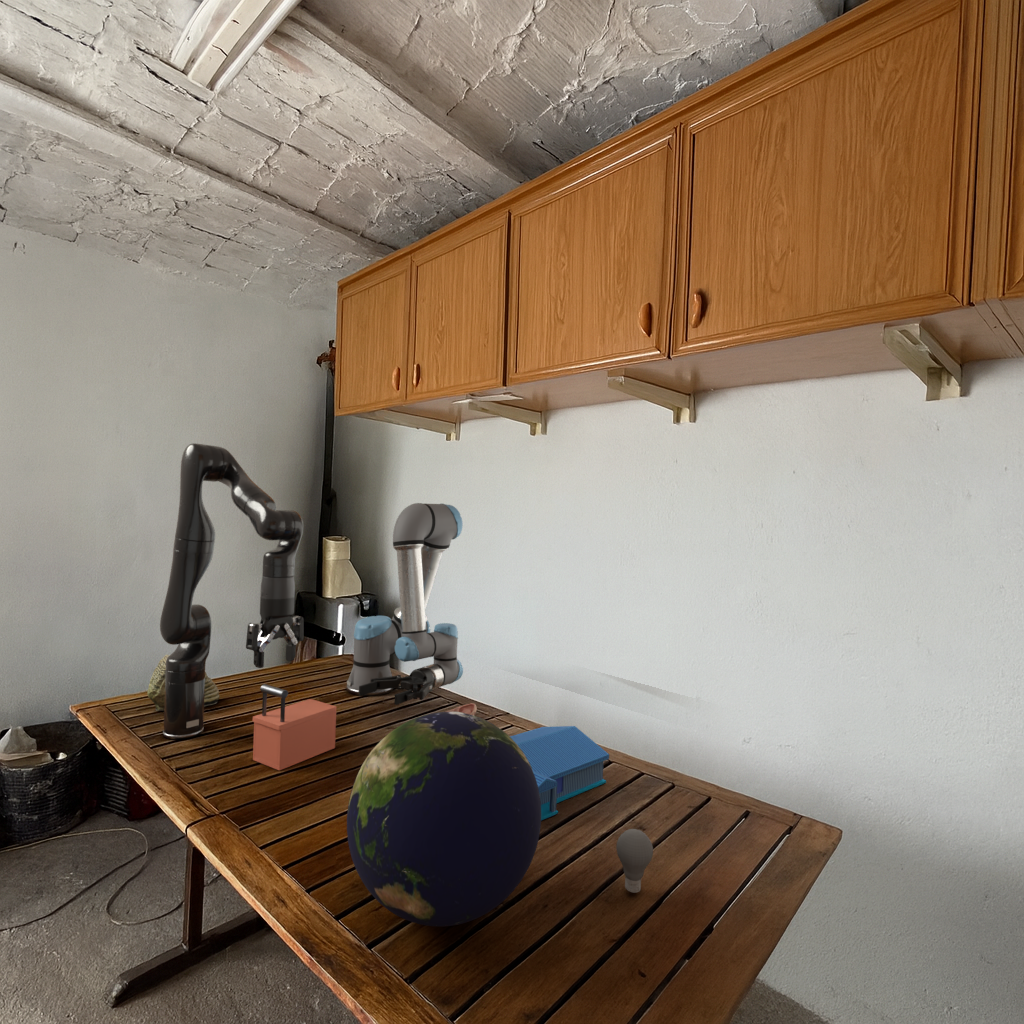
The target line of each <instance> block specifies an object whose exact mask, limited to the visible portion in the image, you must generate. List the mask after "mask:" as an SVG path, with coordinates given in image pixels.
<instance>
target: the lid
mask: <svg viewBox="0 0 1024 1024" xmlns="http://www.w3.org/2000/svg"><path fill="white" fill-rule="evenodd" d="M259 689H260V690H259V691H260V692H261V693H262V701H261V702H262V703H261V706H262V707H261V708H262V709H261V713H260V714H257V715H254V716H252V722H253V723H254V722H256V723H259V724H262V725H265V726H268V727H270V728H273V729H276V730H282V729H285V728H288V727H291V726H294V725H297V724H300V723H303V722H306V721H308V720H311V719H314V718H317V717H320V716H323V715H326V714H329V713H332V712H335V711H336V712H337V706H336V705H332V704H329V703H326V702H323V701H319V700H315V699H313V698H308V699H305V700H302V701H299V702H296V703H292V704H289V705H286V698H287V697H288V695H289V691H288V690H287V689H283V688H279V687H276V686H274V685H270V684H266V683H263V684H262V685H261V686H260V688H259ZM268 695H270V696H273V697H277V698H280V708H276V709H272V710H270V711H267V706H268V705H267V703H268Z"/></svg>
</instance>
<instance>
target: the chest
mask: <svg viewBox="0 0 1024 1024" xmlns="http://www.w3.org/2000/svg"><path fill="white" fill-rule="evenodd" d="M336 727H337V710H336V711H335V712H332V713H329V714H326V715H323V716H320V717H317V718H314V719H311V720H308V721H306V722H303V723H300V724H297V725H294V726H291V727H288V728H285V729H282V730H276V729H273V728H270V727H268V726H265V725H262V724H259V723H256V722H253V743H252V744H253V748H252V761H255V762H257V763H259V764H262V765H264V766H266V767H270V768H271V769H273V770H277V771H282V770H284V769H287V768H289V767H291V766H294V765H297V764H300V763H301V762H304V761H306V760H309V759H311V758H313V757H316V756H318V755H319V756H320V755H321V754H325V752H329V751H331V750H333V749H335V748H336V732H337V729H336Z"/></svg>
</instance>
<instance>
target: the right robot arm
mask: <svg viewBox="0 0 1024 1024" xmlns="http://www.w3.org/2000/svg"><path fill="white" fill-rule="evenodd" d="M463 526H464V525H463V519H462V516H461V513H460V511H459V510H458V508H457V507H455V506H453V505H451V504H447V503H422V502H416V503H411V504H410V505H408V506H405V508H403V510H402V511H401V512H400V513H399V515H398V516H397V518H396V521H395V523H394V526H393V532H392V548H393V549H394V550H395V551H396V561H397V563H396V564H397V575H398V577H397V578H398V591H399V606H398V607H396V608H395V609H394V611H393V615H392V618H391V617H389V616H386V615H376V616H375V615H371V616H366V617H364V618H361V619H359V620H357V622H356V623H355V625H354V632H353V639H354V640H353V662H352V663H353V665H352V668H351V672H350V674H349V677H348V680H346V691H347V693H350V694H352V695H356V696H359V697H362V696H367V697H369V696H371V697H373V696H381V695H382V696H383V695H386V694H389V693H391V692H393V691H394V689H396V690H398V691H400V690H402V691H401V692H398V693H395V694H394V705H396V706H397V705H401V704H404V703H406V702H408V701H411V700H419V701H423V700H424V699H425V698H426V697H427V696H428V694H429V693H431V692H432V691H433V690H436V689H439V688H441V687H444V686H447V685H452V684H454V683H455V682H457V681H459V680H460V679H461V678H462V677H463V673H464V667H463V665H462V662H461V660H459V659H458V641H459V640H458V639H459V631H458V626H457V625H456V624H454V623H448V622H442V623H441V622H440V623H437V624H435V625H434V629H433V631H432V632H431V629H430V628H431V625H430V622H429V620H428V616H427V614H426V611H427V606H428V604H429V601H430V596H431V594H432V590H433V586H434V583H435V581H436V577H437V573H438V570H439V566H440V564H441V560H442V557H443V554H444V552H445V551H447V550H449V548H450V546H451V543H452V540H456V539H458V538H459V536H461V534H462V531H463ZM390 655H396V657H397V659H398V660H399V661H401V662H404V663H406V662H415V661H418V660H423V659H427V658H432V657H433V663H431V664H428V665H425V666H422V667H419V668H416V669H413V670H412V671H410V674H409V675H405V676H401V674H397V675H393V674H392V670H391V667H390V658H391V656H390ZM403 690H404V691H403Z"/></svg>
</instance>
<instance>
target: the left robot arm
mask: <svg viewBox="0 0 1024 1024" xmlns="http://www.w3.org/2000/svg"><path fill="white" fill-rule="evenodd" d="M179 475H180V478H179V479H180V481H179V502H178V503H179V504H178V513H177V521H176V528H175V534H174V542H173V550H172V561H171V565H170V574H169V579H168V586H167V590H166V594H165V599H164V603H163V607H162V611H161V615H160V619H159V620H160V621H159V631H160V635H161V637H162V639H163V641H164V642H165V643H167V644H168V645H172V646H176V645H177V646H176V647H175V650H173V652H172V653H170V654H169V655H170V656H169V657H168V658H167V660H166V674H165V705H164V710H163V730H162V737H164V738H166V739H169V740H185V739H190V738H191V739H192V738H194V737H197V736H199V735H202V734H203V732H204V730H205V729H204V727H205V725H204V722H205V721H204V718H205V706H204V693H205V672H206V664H207V663H206V662H207V659H208V657H209V654H210V649H211V648H210V647H211V639H212V617H211V614H210V612H209V610H208V609H207V608H206V607H205V606H203V605H201V604H196V603H195V604H194V603H193V601H194V595H195V592H196V590H197V587H198V585H199V583H200V581H201V579H202V578H203V576H204V575H205V573H206V571H207V570H208V567H209V565H210V564H211V562H212V560H213V555H214V550H215V543H216V530H215V527H214V524H213V522H212V520H211V517H210V516H209V514H208V512H207V510H206V507H205V504H204V501H203V483H204V482H212V483H213V482H214V483H216V482H219V483H222V484H223V485H225V486H227V487H228V488H229V489H230V497H231V500H232V502H233V504H234V505H235V507H236V508H237V509H238V510H239V511H240V512H242V514H244V515H245V516H246V517H247V518H248V519H249V521H250V524H251V525H252V527H253V528H254V529H253V530H254V531H255V533H256V534H257V535H258V536H259V537H260V538H261V539H263V540H265V541H278V543H277V545H276V547H275V548H273V549H270V550H267V551H266V552H264V554H263V557H262V569H261V571H262V572H261V573H262V574H261V575H262V576H261V582H260V594H259V595H260V598H259V615H260V621H259V622H256V623H254V622H249V623H247V630H246V641H245V649H247V650H250V651H252V652H253V665H254V667H255V668H258V669H262V668H264V667H265V649H266V647H267V645H269V644H270V643H271V642H272V641H273V640H277V639H284V640H285V642H286V643H287V644H286V645H285V660H286V661H289V662H293V661H295V658H296V655H297V653H296V652H297V645H298V643H299V642H303V641H304V638H305V634H304V633H305V632H304V630H305V627H304V624H305V623H304V617H303V616H301V615H300V616H299V615H294V614H295V596H296V595H295V593H296V592H295V590H296V586H295V585H296V583H295V559H296V557H297V553H298V551H299V547H300V544H301V540H302V537H303V534H304V521H303V518H302V516H301V515H300V513H299V512H298V511H296V510H292V509H291V510H290V509H277V504H276V502H275V500H274V499H273V498H272V497H271V496H270V495H269V494H268V493H267V492H266V491H264V489H262V488H261V487H259V485H257V484H256V483H255V482H254V481H253V480H252V479H251V478H250V476H249V475H248V474H247V473H246V471H245V470H244V469H243V468H242V466H241V465H240V464H239V462H238V461H237V459H236V458H235V456H234V455H233V454H231V452H230V451H229V450H228V449H226V448H224V447H221V446H217V445H211V444H204V443H195V442H194V443H190V444H188V445H187V446H186V447H185V448H184V450H183V452H182V455H181V461H180V474H179ZM291 627H292V628H291Z"/></svg>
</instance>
